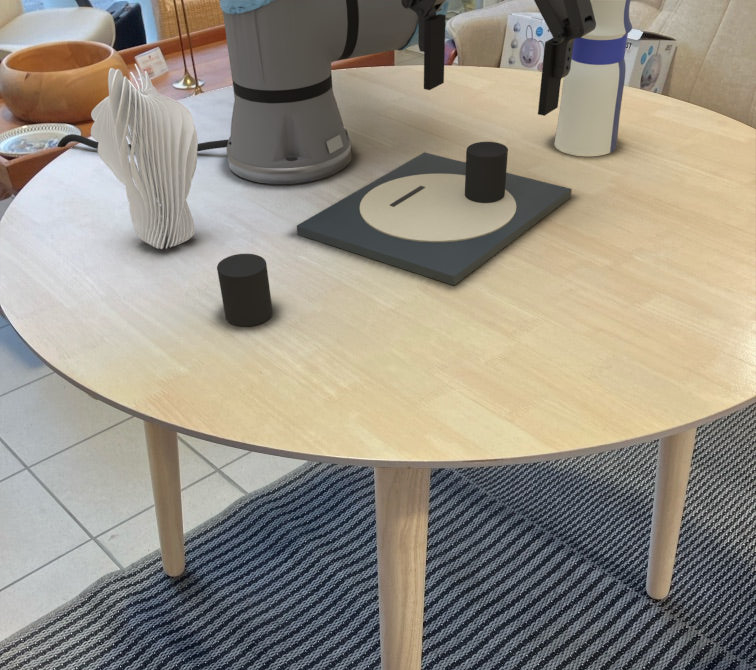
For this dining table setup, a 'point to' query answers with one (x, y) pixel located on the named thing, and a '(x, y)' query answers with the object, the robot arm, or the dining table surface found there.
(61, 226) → the dining table surface
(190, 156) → the white ribbed sculpture
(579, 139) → the water bottle
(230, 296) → the stamp
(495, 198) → the stamp
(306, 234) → the board
